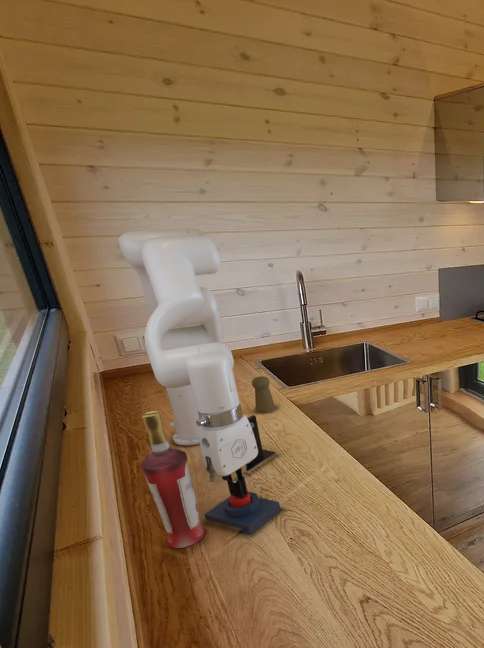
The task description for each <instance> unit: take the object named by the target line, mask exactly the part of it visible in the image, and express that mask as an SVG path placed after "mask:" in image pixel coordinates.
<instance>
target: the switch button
mask: <svg viewBox="0 0 484 648" xmlns="http://www.w3.org/2000/svg"><path fill="white" fill-rule="evenodd" d="M247 492H248V494H246V495H244V496H243V497H242V498H240V497H236V496H232V495H231V494H229V497H228V498H229V500H230V504H231V506H232V507H242V506H245V505H247V504H249V503H250V502H251V497H250V493H249V492H250V491H248V490H247Z"/></svg>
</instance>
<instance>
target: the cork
mask: <svg viewBox="0 0 484 648" xmlns="http://www.w3.org/2000/svg"><path fill="white" fill-rule="evenodd" d="M270 382H271V381H270V379H269V378H268V377H267V376H264V375H262V376H257V377H254V378H253V379H252V381H251V386H252V387H253V389H254V400H255V412H256V413H257V414H268V413H272V412H273V411H275V410H276V405H275V401H274V399H273V395H272V393H271V390H270V387H269V386H270V384H271V383H270Z"/></svg>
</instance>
